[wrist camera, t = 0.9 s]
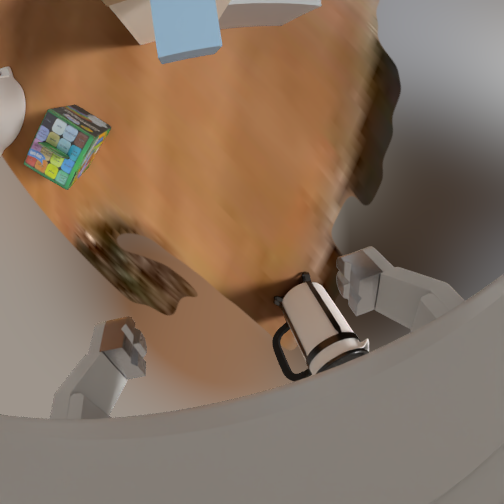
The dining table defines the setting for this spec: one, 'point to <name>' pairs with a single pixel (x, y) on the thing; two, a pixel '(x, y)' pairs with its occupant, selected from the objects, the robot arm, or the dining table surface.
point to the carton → (144, 16)
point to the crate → (264, 12)
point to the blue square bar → (185, 29)
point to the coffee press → (316, 330)
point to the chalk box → (66, 144)
